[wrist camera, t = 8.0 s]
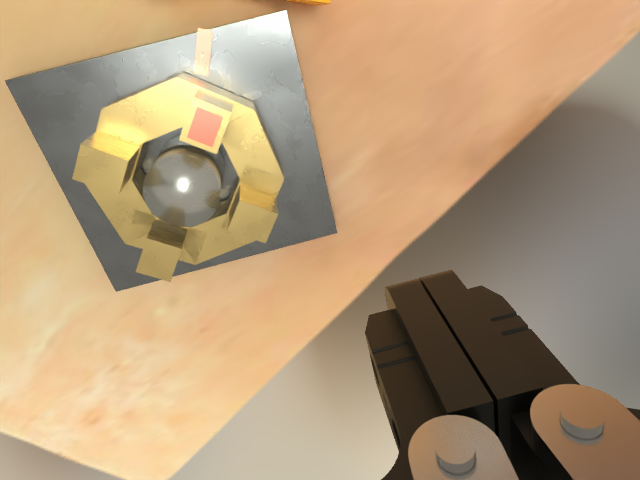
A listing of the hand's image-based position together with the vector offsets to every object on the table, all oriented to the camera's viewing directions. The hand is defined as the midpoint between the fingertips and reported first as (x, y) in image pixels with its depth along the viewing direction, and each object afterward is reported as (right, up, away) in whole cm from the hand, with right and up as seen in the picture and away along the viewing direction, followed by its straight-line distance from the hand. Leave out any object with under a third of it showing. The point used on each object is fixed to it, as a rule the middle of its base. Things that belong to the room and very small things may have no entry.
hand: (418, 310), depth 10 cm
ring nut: (-12, +7, +25) cm, 29 cm away
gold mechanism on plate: (-13, +8, +27) cm, 31 cm away
